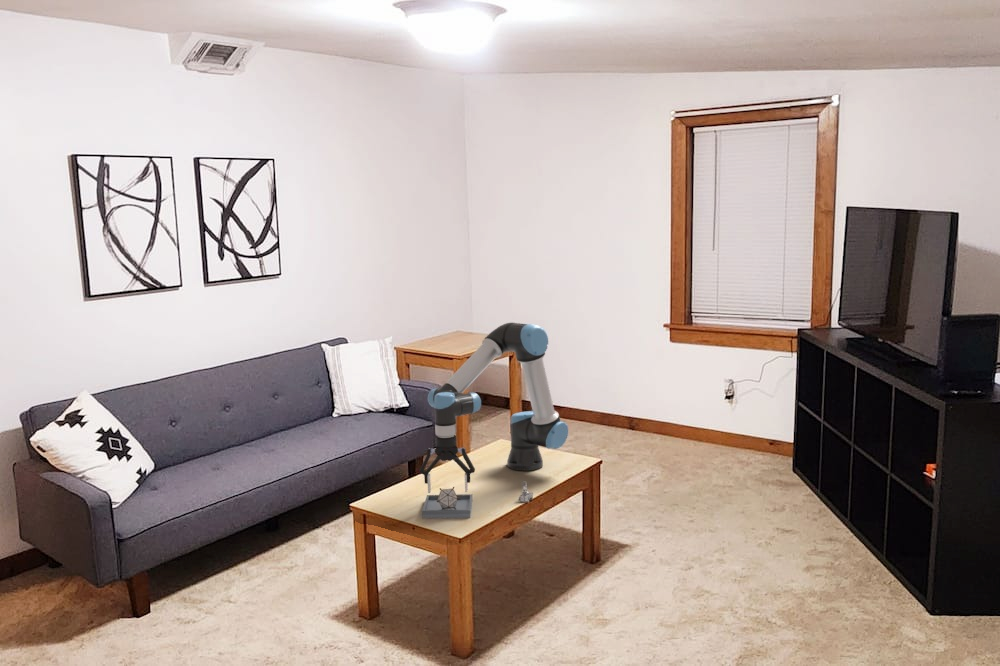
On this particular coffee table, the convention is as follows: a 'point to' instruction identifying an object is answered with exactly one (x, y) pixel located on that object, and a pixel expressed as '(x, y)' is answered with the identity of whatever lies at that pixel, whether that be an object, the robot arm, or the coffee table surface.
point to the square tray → (435, 510)
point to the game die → (447, 498)
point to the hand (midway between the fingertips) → (447, 491)
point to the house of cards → (525, 494)
